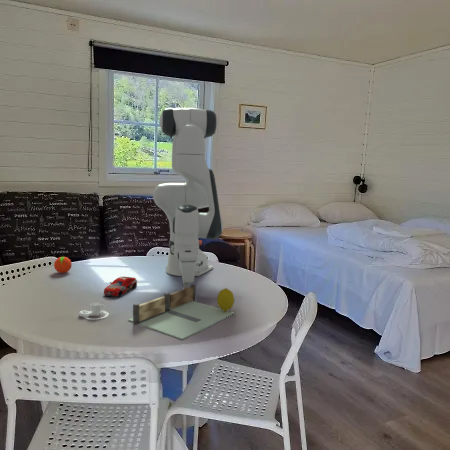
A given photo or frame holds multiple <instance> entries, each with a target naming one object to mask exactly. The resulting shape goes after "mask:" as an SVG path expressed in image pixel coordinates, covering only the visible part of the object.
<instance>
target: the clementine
mask: <svg viewBox="0 0 450 450" xmlns="http://www.w3.org/2000/svg"><path fill="white" fill-rule="evenodd" d="M72 264H73V263H72V260H71V259H70V258H69V257H66V256H60V257H58V258H56V259H55V261H54V265H53V266H54V269H55V271H56V272H57V273H59V274H66V273H68V272H69V271H70V270H71V268H72V266H73V265H72Z"/></svg>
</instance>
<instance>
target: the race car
mask: <svg viewBox="0 0 450 450" xmlns="http://www.w3.org/2000/svg"><path fill="white" fill-rule="evenodd" d="M137 285H138V280H137V279H136V277H132V276H119V277H117V278H115V279H114V280H113V281H112V282H111V281H110V282H109V285H107V286H106V287H105V288H103V289H104V290H103V295H104V296H107V297H117V298H118V297H119V298H120V297H122V296H123V295H125V294H126V293H128V292H130V291H132V290H134V289H136V287H138V286H137Z"/></svg>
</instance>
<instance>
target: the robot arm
mask: <svg viewBox="0 0 450 450" xmlns="http://www.w3.org/2000/svg"><path fill="white" fill-rule="evenodd" d="M218 123H219V122H218V117H217V114H216V113H215V112H214V111H213V110H211V109H206V108H205V109H203V108H196V107H176V108H173V107H166V108H164V109H162V112H161V114H160V117H159V126H160V129H161V132H162V133H163V134H164V136H167V137H170V139H172V147H171V148H172V150H171V169H172V171H173V172H174V173H176V174H178V175H179V176H181V177H183V178H184V179H185V182H165V183H160V184H157V185H156V186H155V188H154V190H153V193H152V198H153V202H154V204H155V205H156V206H157V207H158V208H160V210H162V211H163V212H164V214H165V215H166V217H167V219H168V223H169V233H170V235H169V237H170V238H169V241H168V249H169V251H168V256H167V263H166V265H165V273H167V274H168V275H172V276H175V277H177V276H179V277H181V279H182V287H183V289H185V288H188V287H190V286H189V285H190V284H194V280H195V277H199V276H201V275H203V274H205V273H207V272H210V270H213V269H214V265H212V264H209V259H208V256H207V254H206V253H204V251H202V250H201V249H200V246H202V244H203V240H201V239H205V240H216V239H218V238H219V237H221V235H222V234H223V231H224V221H223V217H222V215H221V210H220V203H219V197H218V189H217V185H216V178H215V174H214V171H213V170H212V169H211V168H209V167H208V166H209V165H208V164H207V161H206V142H205V139H206V138H210V137H213V136H214V135H215V134H216V130H217V129H218ZM204 208H208V211H207V212H199V209H200V210H201V209H204ZM199 239H200V240H199Z"/></svg>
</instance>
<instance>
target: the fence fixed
mask: <svg viewBox="0 0 450 450" xmlns="http://www.w3.org/2000/svg"><path fill="white" fill-rule="evenodd" d="M170 294H171V293H170V292H169V293H168V292H166V293H164V294H163V296H160V297H157V298H154V299H151V300H149V301H146V302H143V303H140V304H139V303H134V304H133V305H132V318H133V322H132V324H133V325H139V324H138V323H139V322H140V321H142V320H145V319H147V318H150V317H152V316H155V315H157V314H160V313H162V312H168V311H170Z"/></svg>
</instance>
